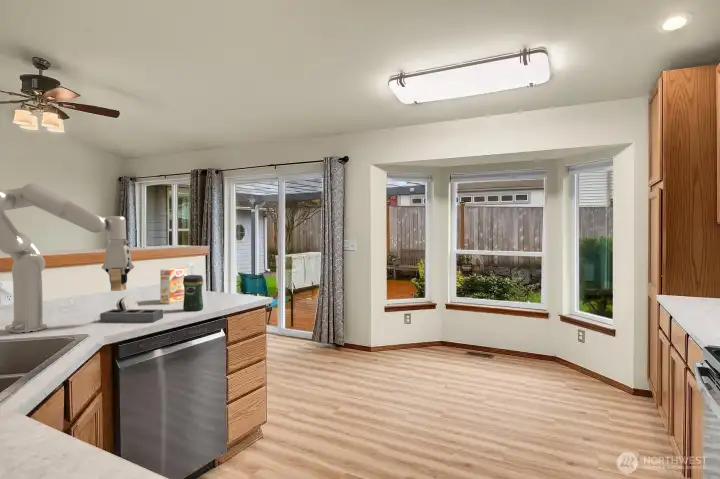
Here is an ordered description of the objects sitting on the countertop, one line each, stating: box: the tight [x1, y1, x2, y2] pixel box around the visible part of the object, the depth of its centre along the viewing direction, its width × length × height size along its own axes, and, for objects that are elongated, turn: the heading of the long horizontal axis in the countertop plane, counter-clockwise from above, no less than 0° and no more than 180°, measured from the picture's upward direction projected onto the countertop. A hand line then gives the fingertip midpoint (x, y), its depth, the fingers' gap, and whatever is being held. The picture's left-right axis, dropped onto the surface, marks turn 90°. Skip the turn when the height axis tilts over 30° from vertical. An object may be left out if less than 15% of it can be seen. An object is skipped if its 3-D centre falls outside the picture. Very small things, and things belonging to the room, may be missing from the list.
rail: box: [99, 308, 164, 323], centre depth 197 cm, size 10×24×4 cm, turn 91°
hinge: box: [115, 295, 143, 309], centre depth 211 cm, size 17×5×10 cm, turn 10°
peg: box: [109, 268, 127, 292], centre depth 192 cm, size 4×4×10 cm
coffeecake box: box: [159, 267, 189, 305], centre depth 246 cm, size 15×7×20 cm, turn 162°
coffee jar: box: [182, 274, 204, 312], centre depth 222 cm, size 10×8×19 cm
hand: (118, 282), depth 192 cm, fingers closed on peg, 4 cm apart
